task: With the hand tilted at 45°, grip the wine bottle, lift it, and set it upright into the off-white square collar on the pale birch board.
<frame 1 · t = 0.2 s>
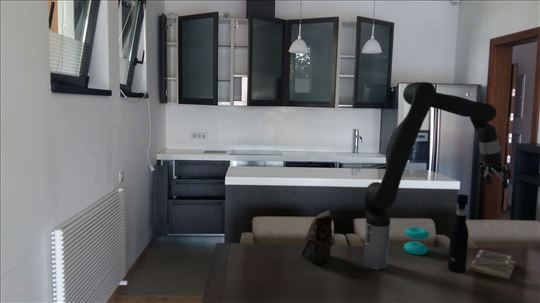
hand: (497, 186, 181), 30 cm above the table, tool tilted 20°, fingers open, 8 cm apart
owl: (316, 259, 176), on the table
wine bottle: (456, 270, 168), on the table
bottle stand: (492, 267, 171), on the table
donuts: (415, 252, 187), on the table
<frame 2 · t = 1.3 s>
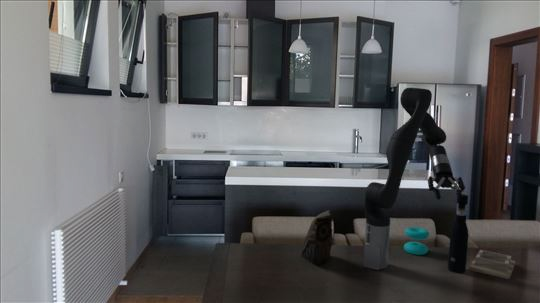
hand: (449, 199, 176), 26 cm above the table, tool tilted 45°, fingers open, 8 cm apart
nothing on the table moved.
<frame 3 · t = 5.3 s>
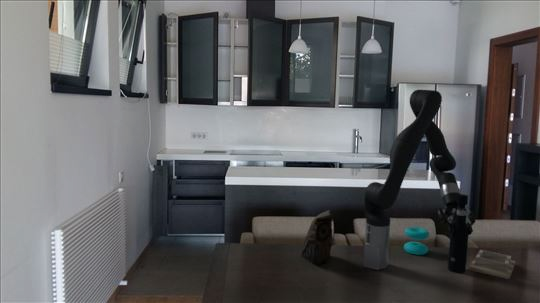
hand: (461, 233, 164), 15 cm above the table, tool tilted 45°, fingers closed on wine bottle, 6 cm apart
wine bottle: (456, 270, 168), on the table, touching gripper
everything else where it was.
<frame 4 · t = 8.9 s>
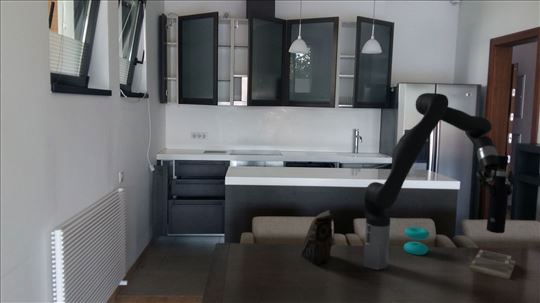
hand: (501, 194, 166), 30 cm above the table, tool tilted 45°, fingers closed on wine bottle, 6 cm apart
wine bottle: (495, 231, 169), point 15 cm above the table, touching gripper
everything else where it was.
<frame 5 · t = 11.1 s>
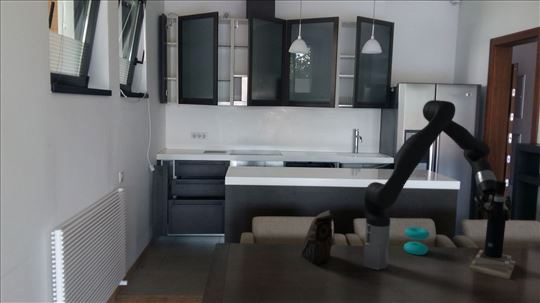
hand: (499, 219, 167), 20 cm above the table, tool tilted 45°, fingers closed on wine bottle, 6 cm apart
wine bottle: (492, 255, 171), point 5 cm above the table, touching gripper
everything else where it was.
when the fingers open (18 cm above the table, at t = 12.7 s): wine bottle drops 1 cm, resting on bottle stand.
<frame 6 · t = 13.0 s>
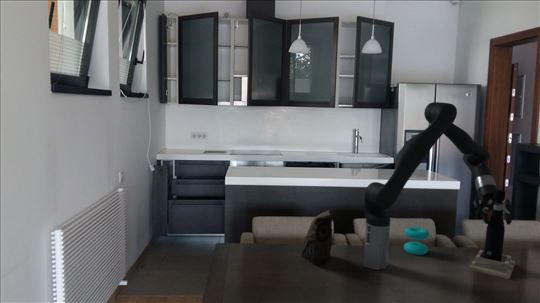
hand: (498, 223, 167), 19 cm above the table, tool tilted 45°, fingers open, 8 cm apart
wine bottle: (491, 263, 171), point 1 cm above the table, touching bottle stand
everything else where it was.
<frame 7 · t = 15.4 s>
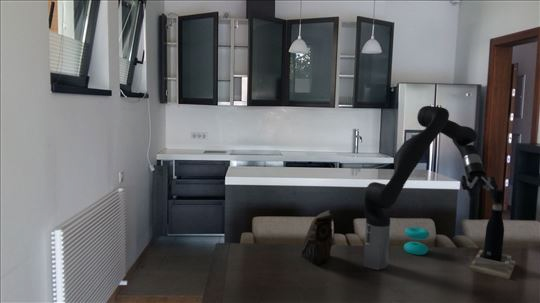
hand: (483, 198, 179), 26 cm above the table, tool tilted 45°, fingers open, 8 cm apart
nothing on the table moved.
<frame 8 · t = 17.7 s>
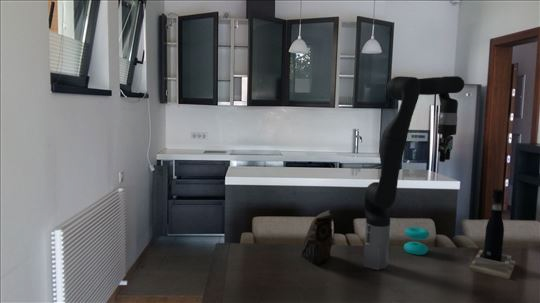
hand: (444, 160, 185), 40 cm above the table, tool pointing down, fingers open, 8 cm apart
nothing on the table moved.
at the end: wine bottle 0.4 cm off-centre on the bottle stand, point 1.3 cm above the bottle stand's base; wine bottle tilted 0°; the gripper is holding nothing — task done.
